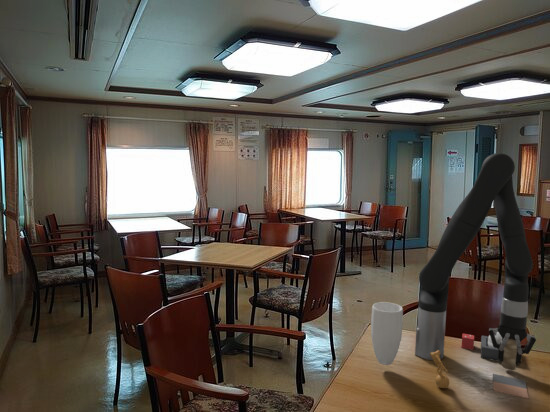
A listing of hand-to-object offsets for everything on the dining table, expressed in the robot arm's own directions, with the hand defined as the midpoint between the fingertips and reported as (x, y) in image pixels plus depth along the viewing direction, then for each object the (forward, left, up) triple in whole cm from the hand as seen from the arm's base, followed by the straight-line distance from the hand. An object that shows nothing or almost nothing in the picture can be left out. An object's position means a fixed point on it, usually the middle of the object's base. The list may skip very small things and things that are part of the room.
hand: (509, 361), depth 137 cm
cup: (-37, -19, -3) cm, 42 cm away
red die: (-13, +14, -3) cm, 19 cm away
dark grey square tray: (-3, +12, -3) cm, 13 cm away
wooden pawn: (0, 0, -2) cm, 2 cm away
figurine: (-20, -22, -3) cm, 30 cm away
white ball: (-3, +12, -2) cm, 12 cm away
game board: (0, -11, -3) cm, 11 cm away
